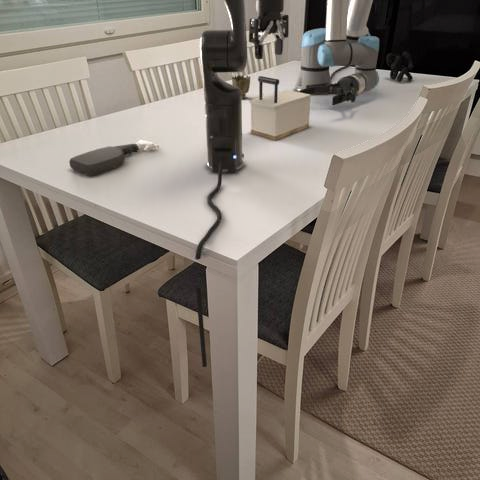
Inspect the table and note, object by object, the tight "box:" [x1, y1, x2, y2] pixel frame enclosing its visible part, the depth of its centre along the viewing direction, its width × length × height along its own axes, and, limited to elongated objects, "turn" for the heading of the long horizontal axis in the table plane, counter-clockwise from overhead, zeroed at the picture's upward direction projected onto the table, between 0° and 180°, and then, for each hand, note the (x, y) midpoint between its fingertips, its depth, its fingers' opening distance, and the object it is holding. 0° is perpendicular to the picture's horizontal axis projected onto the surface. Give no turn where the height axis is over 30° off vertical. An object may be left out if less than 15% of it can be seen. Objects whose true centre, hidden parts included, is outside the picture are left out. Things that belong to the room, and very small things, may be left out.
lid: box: [248, 75, 312, 109], centre depth 137 cm, size 18×10×8 cm, turn 136°
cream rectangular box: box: [250, 96, 312, 141], centre depth 142 cm, size 17×10×10 cm, turn 136°
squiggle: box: [385, 51, 414, 83], centre depth 198 cm, size 11×10×15 cm
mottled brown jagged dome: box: [231, 74, 252, 99], centre depth 177 cm, size 8×7×8 cm
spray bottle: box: [68, 139, 160, 177], centre depth 124 cm, size 3×11×24 cm
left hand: (268, 56), depth 128 cm, fingers open, 8 cm apart
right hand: (316, 97), depth 151 cm, fingers open, 13 cm apart
